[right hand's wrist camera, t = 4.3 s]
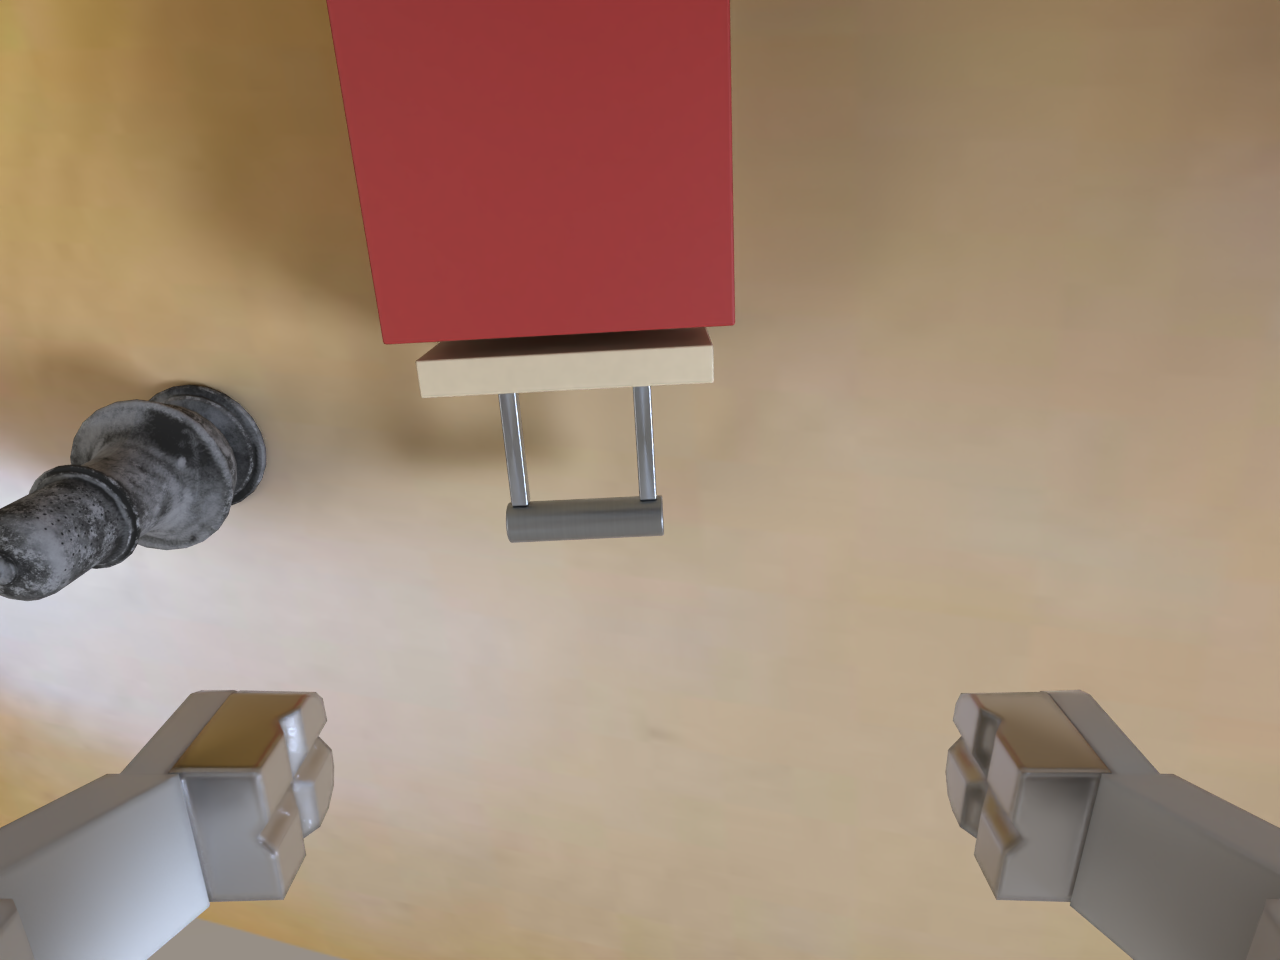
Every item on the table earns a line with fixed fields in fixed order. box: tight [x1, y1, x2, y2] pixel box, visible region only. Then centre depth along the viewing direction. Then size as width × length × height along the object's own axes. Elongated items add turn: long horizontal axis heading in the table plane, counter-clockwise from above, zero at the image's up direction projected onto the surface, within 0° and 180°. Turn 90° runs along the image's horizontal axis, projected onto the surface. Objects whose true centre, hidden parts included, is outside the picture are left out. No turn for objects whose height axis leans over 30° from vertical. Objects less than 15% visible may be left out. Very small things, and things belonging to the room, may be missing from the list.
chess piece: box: [0, 385, 266, 601], centre depth 28 cm, size 6×6×12 cm
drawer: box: [416, 327, 714, 543], centre depth 26 cm, size 25×9×6 cm, turn 3°
